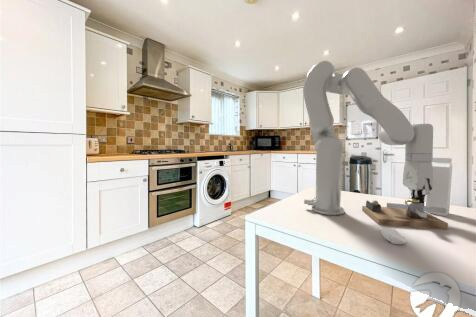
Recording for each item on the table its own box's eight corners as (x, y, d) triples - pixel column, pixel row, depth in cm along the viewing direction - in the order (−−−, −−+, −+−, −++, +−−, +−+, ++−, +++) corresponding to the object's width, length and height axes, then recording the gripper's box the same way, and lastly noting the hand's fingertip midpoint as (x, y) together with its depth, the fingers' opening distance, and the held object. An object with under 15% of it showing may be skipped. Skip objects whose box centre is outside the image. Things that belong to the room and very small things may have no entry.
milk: (446, 216, 78) (450, 158, 76) (425, 212, 83) (428, 157, 81) (449, 213, 81) (453, 157, 80) (428, 209, 86) (432, 157, 84)
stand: (378, 224, 71) (379, 207, 70) (362, 210, 85) (362, 196, 85) (447, 229, 67) (448, 211, 66) (417, 213, 81) (418, 198, 81)
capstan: (457, 229, 62) (458, 210, 61) (392, 221, 68) (393, 204, 68) (433, 212, 76) (434, 197, 76) (382, 207, 83) (382, 193, 82)
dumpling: (374, 238, 61) (375, 225, 61) (387, 235, 63) (388, 223, 62) (399, 250, 54) (400, 235, 54) (413, 246, 56) (414, 232, 56)
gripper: (396, 157, 83) (395, 201, 84) (419, 160, 68) (418, 213, 70) (417, 156, 81) (416, 202, 82) (446, 159, 67) (444, 214, 68)
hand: (417, 207), depth 76 cm, fingers closed
